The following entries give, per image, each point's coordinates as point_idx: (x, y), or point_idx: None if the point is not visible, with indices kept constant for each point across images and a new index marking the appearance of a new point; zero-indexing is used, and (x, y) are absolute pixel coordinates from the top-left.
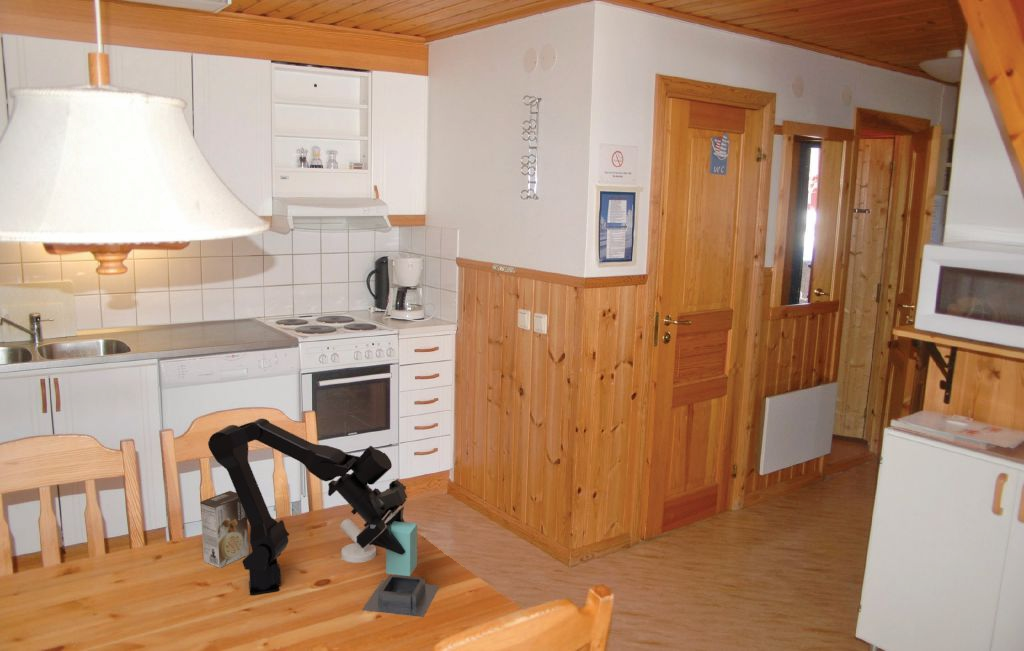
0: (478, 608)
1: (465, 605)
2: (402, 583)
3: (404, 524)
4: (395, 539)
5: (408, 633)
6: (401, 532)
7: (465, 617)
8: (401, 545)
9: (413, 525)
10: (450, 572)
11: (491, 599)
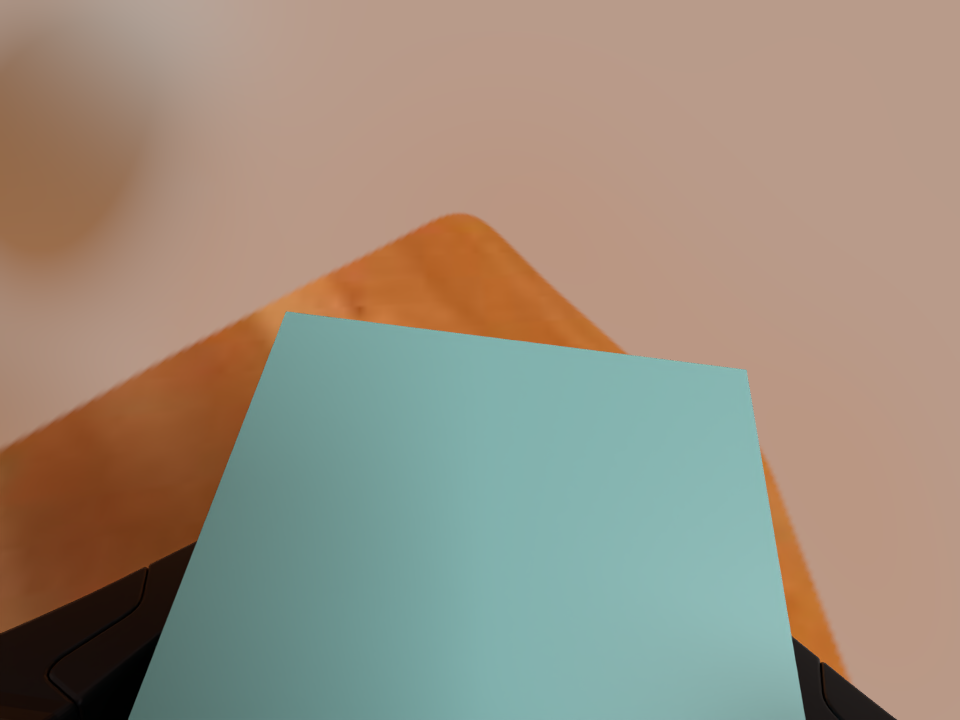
0: (488, 280)
1: (471, 321)
2: None
3: (319, 560)
4: (804, 675)
5: None
6: (766, 550)
7: (555, 315)
8: None
9: (378, 361)
10: (179, 399)
11: (423, 245)
